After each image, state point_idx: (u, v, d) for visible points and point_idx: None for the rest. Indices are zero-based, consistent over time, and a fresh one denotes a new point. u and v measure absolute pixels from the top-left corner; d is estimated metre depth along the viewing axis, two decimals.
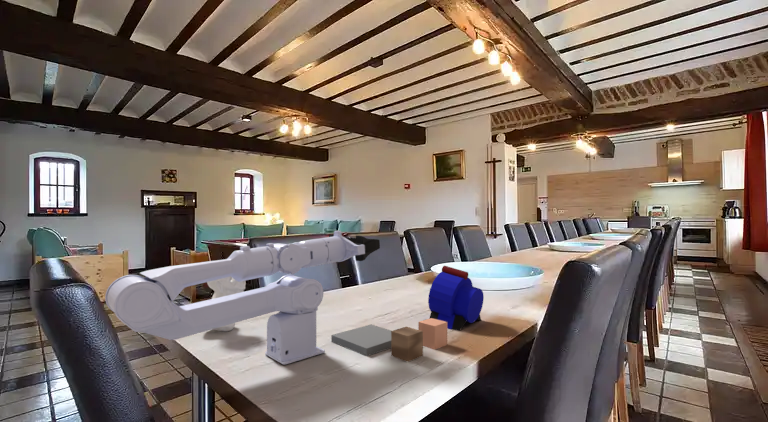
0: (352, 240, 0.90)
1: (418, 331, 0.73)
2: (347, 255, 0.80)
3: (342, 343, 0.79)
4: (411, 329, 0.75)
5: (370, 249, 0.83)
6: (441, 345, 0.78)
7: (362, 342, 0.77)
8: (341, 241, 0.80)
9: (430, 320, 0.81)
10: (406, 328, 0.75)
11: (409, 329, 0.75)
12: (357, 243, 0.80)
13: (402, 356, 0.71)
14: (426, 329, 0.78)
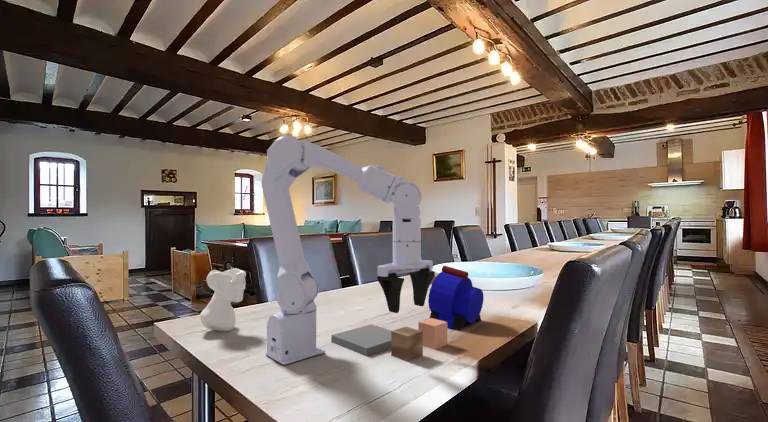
0: (421, 297, 0.76)
1: (418, 331, 0.73)
2: (391, 265, 0.73)
3: (342, 343, 0.79)
4: (411, 329, 0.75)
5: (388, 295, 0.71)
6: (441, 345, 0.78)
7: (362, 342, 0.77)
8: (405, 262, 0.71)
9: (430, 320, 0.81)
10: (406, 328, 0.75)
11: (409, 329, 0.75)
12: (395, 277, 0.70)
13: (402, 356, 0.71)
14: (426, 329, 0.78)
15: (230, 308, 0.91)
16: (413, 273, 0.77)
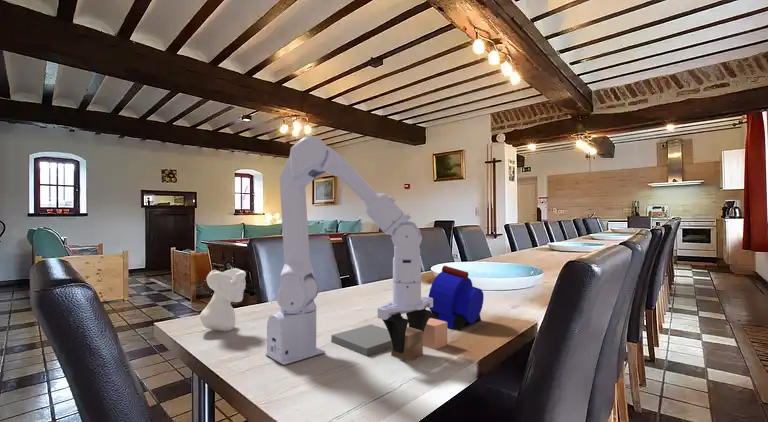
0: None
1: (418, 331, 0.73)
2: (391, 305, 0.73)
3: (342, 343, 0.79)
4: (411, 328, 0.75)
5: (393, 335, 0.72)
6: (441, 345, 0.78)
7: (362, 342, 0.77)
8: (405, 303, 0.71)
9: (430, 320, 0.81)
10: (406, 328, 0.75)
11: (409, 329, 0.75)
12: (399, 317, 0.71)
13: (402, 356, 0.71)
14: (426, 329, 0.78)
15: (230, 308, 0.91)
16: (409, 312, 0.76)
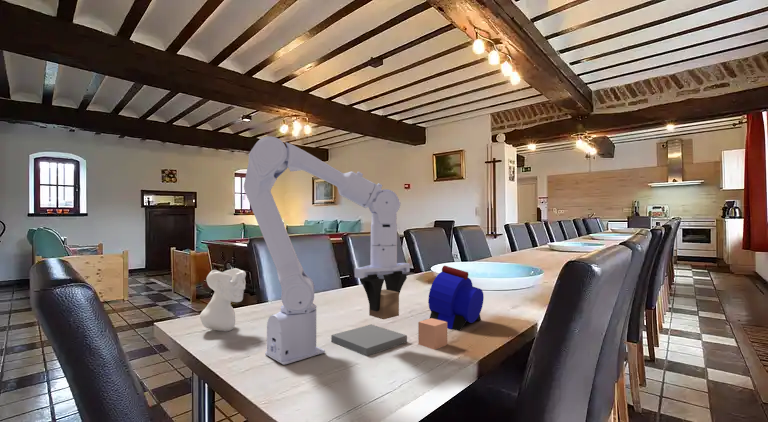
0: None
1: (394, 292, 0.78)
2: None
3: (342, 343, 0.79)
4: (388, 291, 0.80)
5: (370, 295, 0.77)
6: (441, 345, 0.78)
7: (362, 342, 0.77)
8: (381, 265, 0.76)
9: (430, 320, 0.81)
10: (384, 290, 0.80)
11: (386, 291, 0.79)
12: (375, 278, 0.75)
13: (379, 314, 0.76)
14: (426, 329, 0.78)
15: (230, 308, 0.91)
16: (387, 275, 0.81)
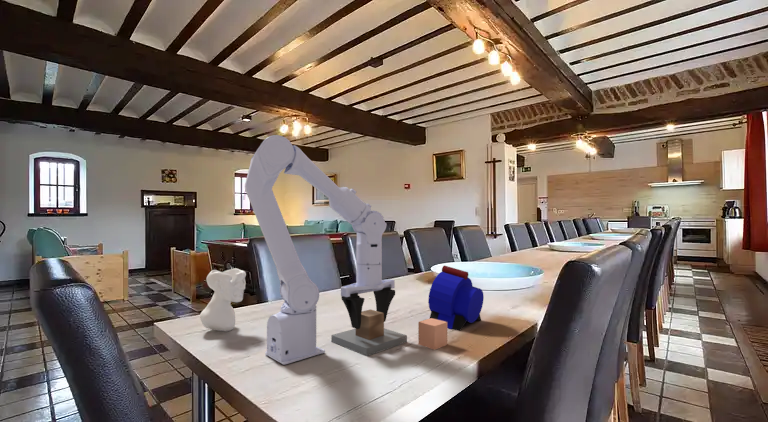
0: None
1: (379, 313, 0.81)
2: None
3: (342, 343, 0.79)
4: (374, 311, 0.83)
5: (351, 313, 0.79)
6: (441, 345, 0.78)
7: (362, 342, 0.77)
8: (366, 283, 0.79)
9: (430, 320, 0.81)
10: (370, 310, 0.83)
11: (372, 311, 0.83)
12: (356, 296, 0.78)
13: (364, 335, 0.79)
14: (426, 329, 0.78)
15: (230, 308, 0.91)
16: (376, 291, 0.86)
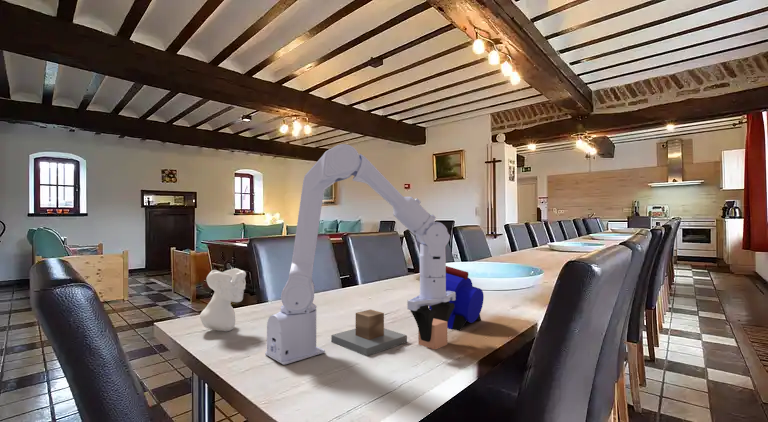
0: None
1: (379, 313, 0.81)
2: (419, 298, 0.79)
3: (342, 343, 0.79)
4: (374, 311, 0.83)
5: (421, 325, 0.79)
6: (441, 345, 0.78)
7: (362, 342, 0.77)
8: (432, 296, 0.77)
9: None
10: (370, 310, 0.83)
11: (372, 311, 0.83)
12: (427, 309, 0.77)
13: (364, 335, 0.79)
14: None
15: (230, 308, 0.91)
16: (434, 305, 0.83)
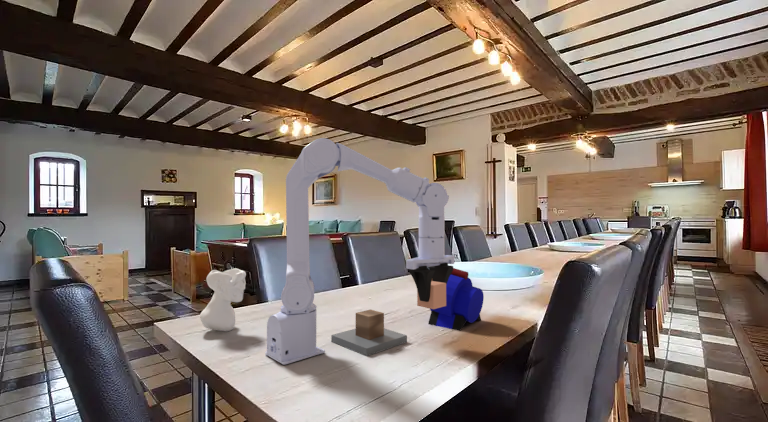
0: None
1: (379, 313, 0.81)
2: (417, 259, 0.79)
3: (342, 343, 0.79)
4: (374, 311, 0.83)
5: (419, 286, 0.79)
6: (440, 305, 0.79)
7: (362, 342, 0.77)
8: (431, 256, 0.78)
9: None
10: (370, 310, 0.83)
11: (372, 311, 0.83)
12: (426, 269, 0.77)
13: (364, 335, 0.79)
14: None
15: (230, 308, 0.91)
16: (433, 267, 0.83)
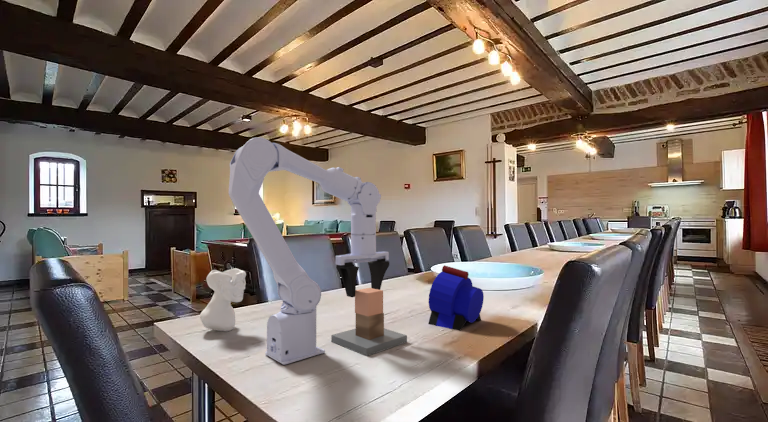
0: (377, 284, 0.85)
1: None
2: None
3: (342, 343, 0.79)
4: None
5: (346, 282, 0.81)
6: (376, 312, 0.80)
7: (362, 342, 0.77)
8: (361, 253, 0.81)
9: (367, 289, 0.83)
10: None
11: None
12: (351, 265, 0.80)
13: (364, 335, 0.79)
14: (361, 297, 0.80)
15: (230, 308, 0.91)
16: (371, 263, 0.87)
